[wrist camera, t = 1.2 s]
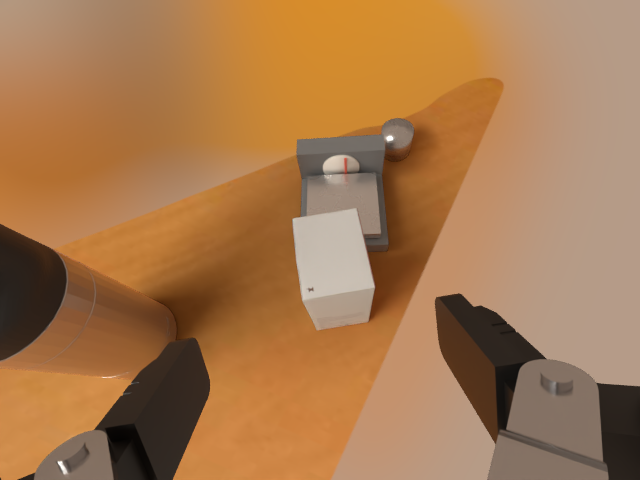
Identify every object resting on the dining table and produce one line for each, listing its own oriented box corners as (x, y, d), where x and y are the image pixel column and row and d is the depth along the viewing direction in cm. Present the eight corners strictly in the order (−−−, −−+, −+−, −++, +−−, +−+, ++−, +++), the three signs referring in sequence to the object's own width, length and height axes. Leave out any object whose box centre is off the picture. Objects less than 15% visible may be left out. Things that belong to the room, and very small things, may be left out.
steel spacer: (380, 162, 48) (383, 143, 45) (378, 139, 50) (380, 119, 47) (411, 160, 48) (416, 141, 44) (407, 137, 50) (412, 117, 46)
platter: (307, 240, 41) (306, 236, 40) (308, 181, 45) (307, 175, 44) (380, 237, 40) (380, 233, 39) (375, 177, 44) (375, 172, 43)
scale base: (301, 253, 43) (293, 229, 37) (304, 173, 49) (297, 139, 42) (387, 251, 42) (393, 225, 36) (379, 169, 48) (383, 134, 41)
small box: (369, 322, 38) (377, 289, 27) (316, 331, 38) (300, 302, 27) (356, 259, 42) (357, 205, 30) (307, 267, 42) (290, 217, 30)
